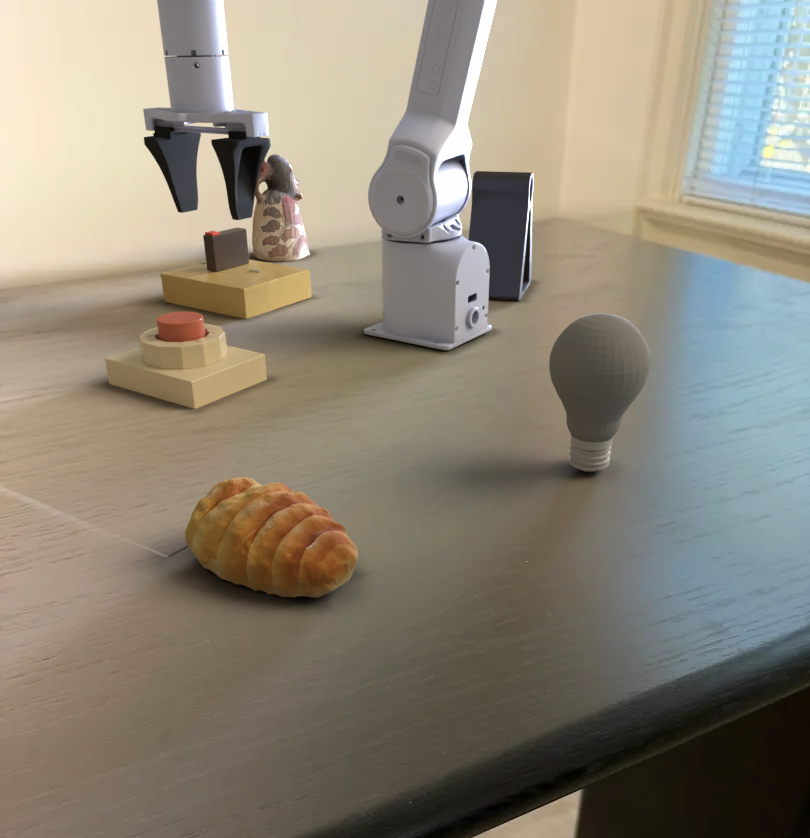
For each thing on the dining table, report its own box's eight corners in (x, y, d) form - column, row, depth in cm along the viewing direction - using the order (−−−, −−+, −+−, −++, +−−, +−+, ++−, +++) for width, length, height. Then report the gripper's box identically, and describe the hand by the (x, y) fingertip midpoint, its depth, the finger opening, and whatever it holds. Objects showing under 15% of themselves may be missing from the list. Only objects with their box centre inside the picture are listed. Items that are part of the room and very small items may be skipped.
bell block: (267, 379, 73) (263, 331, 71) (194, 409, 67) (188, 358, 65) (183, 358, 78) (177, 313, 76) (108, 384, 72) (100, 336, 70)
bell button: (215, 337, 71) (212, 315, 70) (181, 348, 68) (178, 326, 67) (184, 330, 73) (181, 308, 72) (150, 341, 70) (146, 319, 69)
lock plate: (311, 297, 95) (309, 267, 94) (246, 319, 88) (243, 287, 87) (227, 282, 102) (224, 253, 100) (160, 301, 94) (156, 271, 93)
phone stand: (518, 301, 93) (525, 179, 87) (463, 298, 95) (465, 177, 89) (531, 281, 101) (538, 167, 95) (480, 278, 102) (483, 166, 96)
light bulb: (571, 442, 61) (584, 296, 56) (652, 465, 58) (673, 312, 53) (523, 471, 57) (533, 317, 52) (607, 498, 54) (626, 335, 49)
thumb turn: (240, 261, 97) (236, 224, 95) (249, 263, 96) (246, 226, 94) (206, 270, 93) (202, 232, 92) (216, 272, 93) (211, 233, 91)
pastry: (389, 566, 47) (387, 502, 45) (301, 627, 42) (294, 558, 40) (264, 516, 52) (257, 456, 50) (173, 565, 47) (162, 501, 45)
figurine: (316, 258, 112) (310, 155, 106) (260, 263, 110) (251, 158, 104) (300, 247, 118) (294, 149, 112) (247, 252, 115) (238, 152, 109)
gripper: (108, 57, 81) (133, 213, 88) (221, 57, 73) (238, 228, 80) (168, 55, 86) (187, 203, 92) (279, 55, 78) (290, 216, 85)
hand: (214, 214), depth 87 cm, fingers open, 7 cm apart
